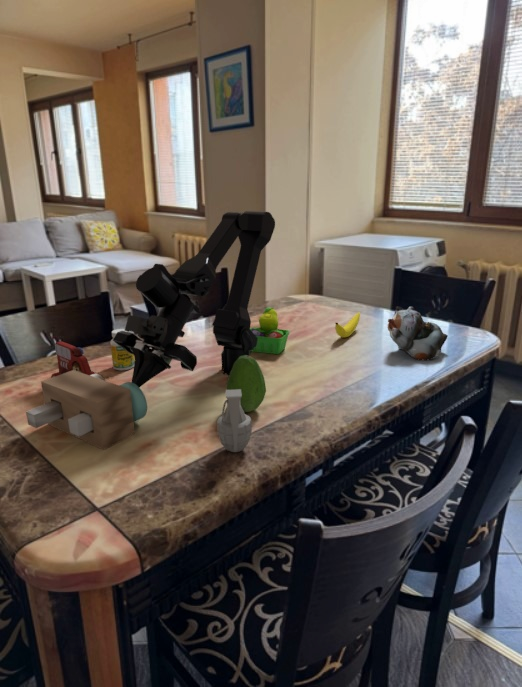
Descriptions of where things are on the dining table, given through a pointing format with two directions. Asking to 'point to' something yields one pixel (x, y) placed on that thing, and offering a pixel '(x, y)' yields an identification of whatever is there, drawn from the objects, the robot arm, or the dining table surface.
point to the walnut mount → (86, 407)
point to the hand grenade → (234, 423)
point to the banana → (348, 327)
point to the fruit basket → (269, 333)
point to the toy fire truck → (71, 359)
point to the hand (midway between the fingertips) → (133, 388)
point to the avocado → (247, 382)
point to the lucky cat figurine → (416, 334)
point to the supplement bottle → (120, 355)
